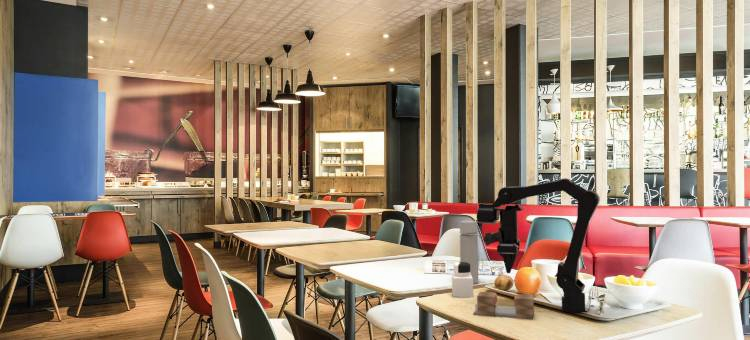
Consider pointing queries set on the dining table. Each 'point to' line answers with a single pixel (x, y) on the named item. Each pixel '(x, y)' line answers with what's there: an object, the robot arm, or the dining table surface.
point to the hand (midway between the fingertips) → (509, 270)
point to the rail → (502, 311)
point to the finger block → (486, 303)
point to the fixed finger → (524, 306)
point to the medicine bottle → (462, 280)
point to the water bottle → (470, 247)
